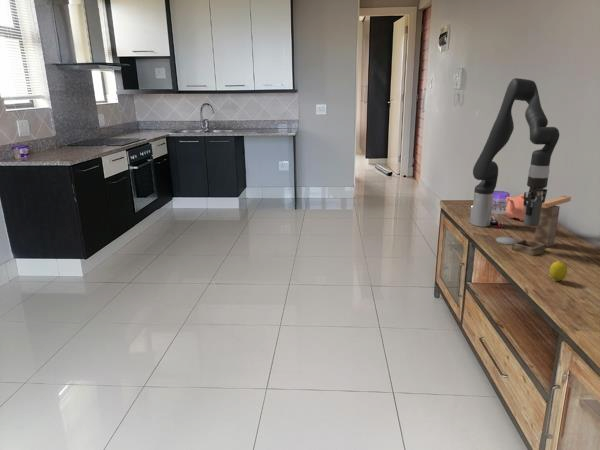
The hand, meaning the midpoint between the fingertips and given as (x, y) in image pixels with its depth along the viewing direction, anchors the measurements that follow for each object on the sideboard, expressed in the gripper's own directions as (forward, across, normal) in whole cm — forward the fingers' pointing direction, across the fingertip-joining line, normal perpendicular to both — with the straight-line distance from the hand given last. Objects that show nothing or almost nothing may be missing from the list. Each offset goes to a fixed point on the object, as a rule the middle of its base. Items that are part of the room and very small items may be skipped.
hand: (532, 214), depth 190 cm
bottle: (+5, 0, 0) cm, 5 cm away
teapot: (+17, -44, -30) cm, 56 cm away
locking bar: (-2, -18, 0) cm, 18 cm away
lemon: (+16, +23, +24) cm, 37 cm away
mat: (+17, -4, -12) cm, 21 cm away
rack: (+17, -6, 0) cm, 17 cm away
